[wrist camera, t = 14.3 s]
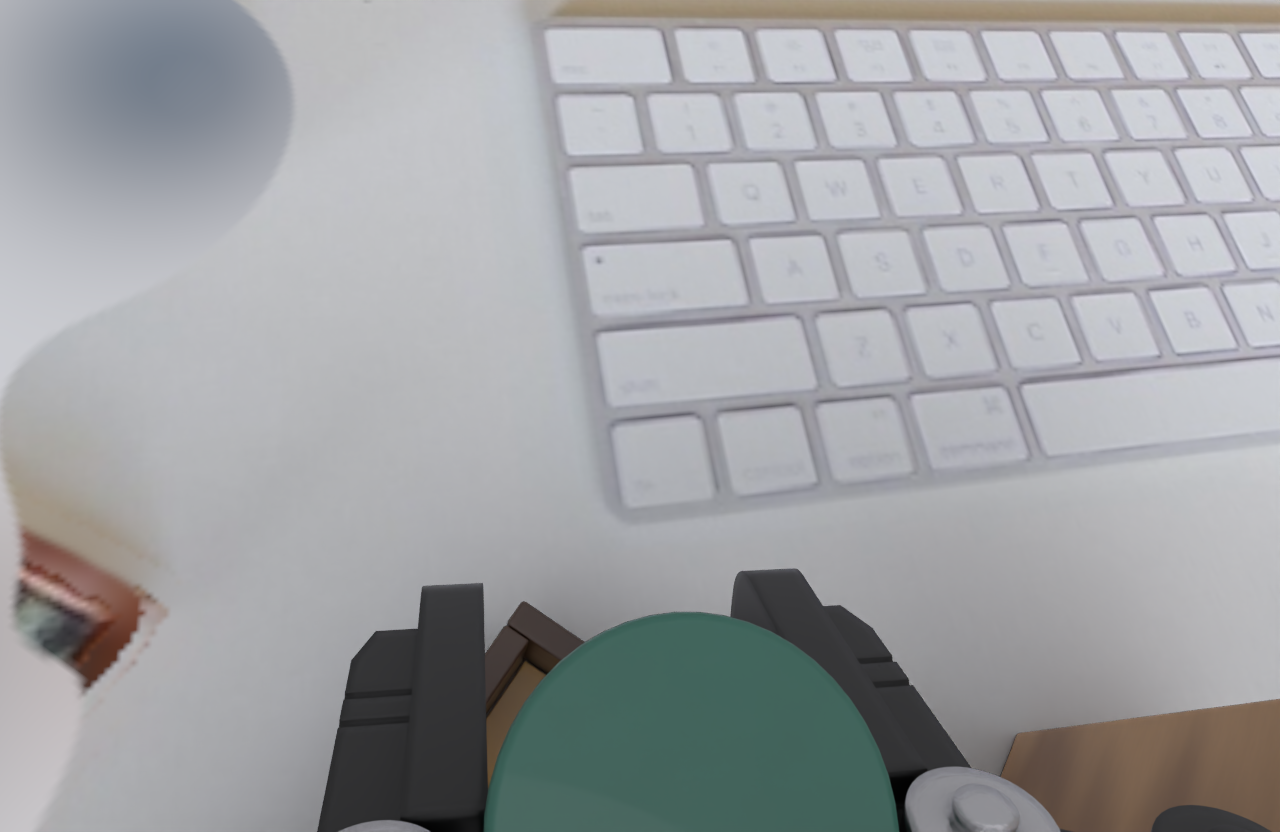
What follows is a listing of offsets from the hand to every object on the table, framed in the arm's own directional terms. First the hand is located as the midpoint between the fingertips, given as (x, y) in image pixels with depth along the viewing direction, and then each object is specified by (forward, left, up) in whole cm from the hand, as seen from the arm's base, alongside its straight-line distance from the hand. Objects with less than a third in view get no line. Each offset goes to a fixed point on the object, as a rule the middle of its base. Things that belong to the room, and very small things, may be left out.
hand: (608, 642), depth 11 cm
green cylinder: (-2, -1, -4) cm, 4 cm away
